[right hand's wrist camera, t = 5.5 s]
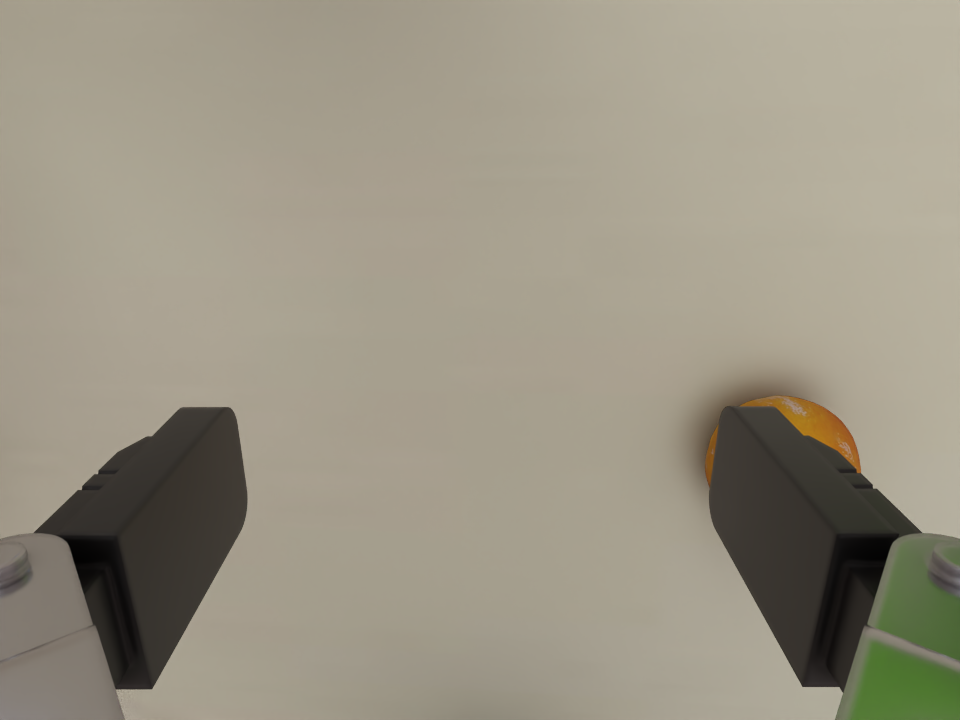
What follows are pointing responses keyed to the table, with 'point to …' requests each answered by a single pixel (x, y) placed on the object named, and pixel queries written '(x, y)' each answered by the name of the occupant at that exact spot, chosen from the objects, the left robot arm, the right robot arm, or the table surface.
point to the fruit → (803, 427)
